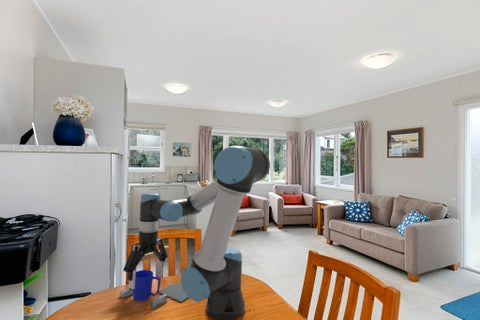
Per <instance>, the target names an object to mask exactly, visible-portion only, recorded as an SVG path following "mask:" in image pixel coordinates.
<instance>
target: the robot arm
mask: <svg viewBox="0 0 480 320" xmlns="http://www.w3.org/2000/svg"><path fill="white" fill-rule="evenodd" d="M270 168H271V162H270V159H269V156H268V155H267V153H266V152H264V151H263V150H261V149H259V148H255V147H254V148H253V147H248V146H247V147H246V146H241V145H235V146H234V145H231V146H227V147H225V148H224V149H222V150H221V151H220V152H219V153H218V154H217V156H216V158H215V161H214V171H215V176H216V177H217V179H215V180H213V181H212V182H209V184H207V185H205V186H204V187H202V188H201V189H199V190H197V191H195V192H194V193H192V194H191V195H190V196H189V195H188V196H187V197H185V198H177V199H170V200H169V199H168V200H165V199H161V195H160V193H158V192H145V193H142V194H141V195H140V196H141V197H140V202H139V228H138V229H139V232H138V241H139V243H138V244H137V245H135V244H132V246H131V250H130V253H129V256H128V258H127V260H126V263H125V264H124V267H123V270H122V271H123V272H126V273H127V280H128V288H131V289H135V271H134V270H135V268H136V269H137V267H138V265H139V264H140V262H141V261H140V260H141V259H142V257H143V256H144V255H145V254H148V253H151V252H153V253H154V254H155V255H156V256H157V257H156V258H157V261H156V274H155V275H156V277H159V278H161V277H163V268H164V262H166V260H167V258H168V254H167V253H166V250H165V248H164V246H165V245H164V239H163V238H159V223H160V222H159V221H160V220H163V221H165V222H172V223H174V222H177V221H178V220H180V219H181V218H184V217H188V216H195V215H197V214H200V213H201V212H203V209H204V208H206V207H208V206H210V205H212V204H213V207H212V209H211V213H210V216H209V220H208V223H207V227H206V228H205V229H206V230H205V233H204V236H203V239H202V243H201V245H200V246H201V247H200V250H197V251H195V252H194V254H193V256H192V260H191V263H190V265H188V266H186V267H185V268H184V269H183V270H182V271H181V274H180V284H181V285H182V287H183V290H184V292H185V294H186V295H187V296H188V297H189V298H188V299H190V300H191V301H194V302H197V303H198V302H203V300H206V305H205V309H206V312H207V314H208V315H209V316H210V317H213V318H214V319H218V320H232V319H236V318H239V317H240V316H242V315H243V314H244V312H245V310H246V307H245V305H246V302H245V299H244V295H243V292H242V267H243V259H242V258H243V256H242V254H243V253H242V252H241V251H240V250H238V249H236V248H233V247H228V245H229V242H230V240H231V237H232V235H233V231H234V228H235V225H236V224H235V223H236V221H237V218H238V216H239V212H240V209H241V206H242V202H243V201H244V197H245V195H248V194H250V193H251V190H252V187H253V185H254V184H255V183H257V182H258V183H259V182H260V181H262V180H264V179H265V178H266V177H267V175H268V174H269V173H270ZM158 250H160V252H159V251H158Z"/></svg>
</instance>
